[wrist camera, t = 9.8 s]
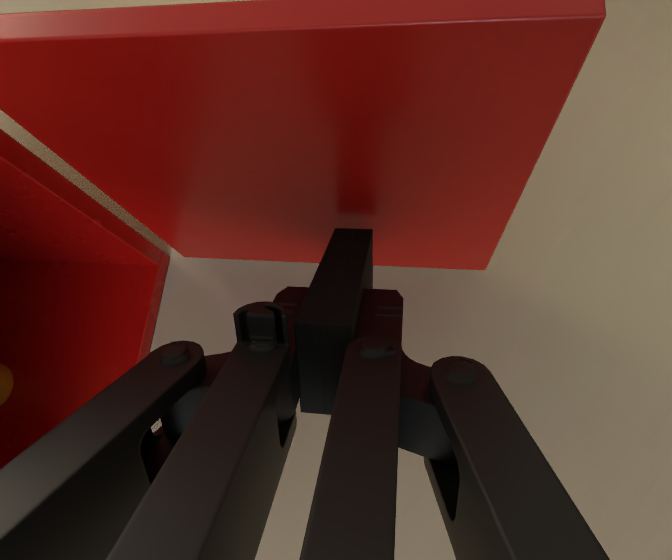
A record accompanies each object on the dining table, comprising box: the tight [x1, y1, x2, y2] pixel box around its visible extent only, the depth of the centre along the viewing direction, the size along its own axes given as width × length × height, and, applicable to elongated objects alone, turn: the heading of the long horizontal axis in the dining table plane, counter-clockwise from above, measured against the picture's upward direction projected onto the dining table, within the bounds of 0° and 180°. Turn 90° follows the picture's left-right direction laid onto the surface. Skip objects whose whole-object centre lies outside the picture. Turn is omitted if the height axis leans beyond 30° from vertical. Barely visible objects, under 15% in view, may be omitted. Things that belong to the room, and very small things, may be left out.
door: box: [0, 0, 606, 270], centre depth 16 cm, size 4×14×13 cm, turn 84°
